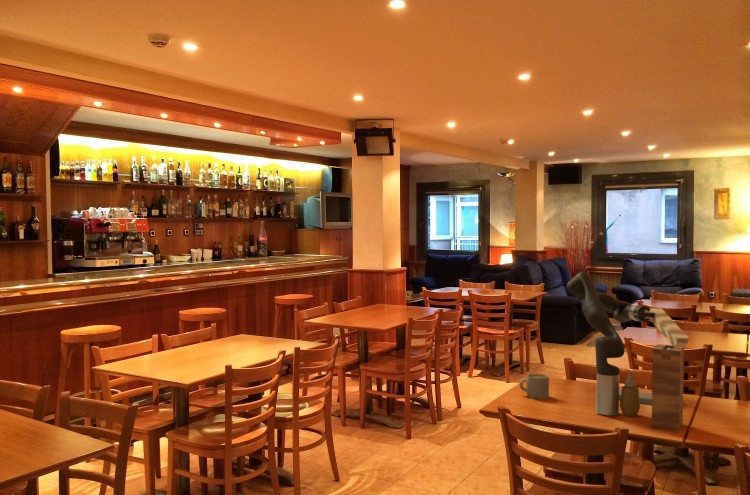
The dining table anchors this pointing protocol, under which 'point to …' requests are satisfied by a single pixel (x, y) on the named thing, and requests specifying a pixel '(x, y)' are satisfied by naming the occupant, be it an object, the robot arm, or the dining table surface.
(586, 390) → the dining table surface
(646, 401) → the board
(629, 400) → the squeeze bottle
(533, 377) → the coffee mug
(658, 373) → the stand
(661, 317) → the bar
